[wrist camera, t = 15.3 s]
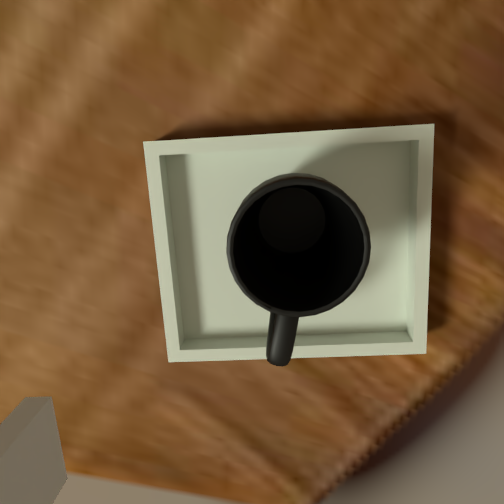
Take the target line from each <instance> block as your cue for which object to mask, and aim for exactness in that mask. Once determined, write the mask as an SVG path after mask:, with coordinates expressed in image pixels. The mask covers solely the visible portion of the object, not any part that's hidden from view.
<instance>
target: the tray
mask: <svg viewBox="0 0 504 504" xmlns="http://www.w3.org/2000/svg"><path fill="white" fill-rule="evenodd" d="M143 145H144V153H145V162H146V171H147V179H148V188H149V197H150V205H151V214H152V223H153V231H154V240H155V249H156V257H157V266H158V275H159V284H160V292H161V301H162V310H163V318H164V327H165V336H166V344H167V353H168V362H190V361H220V360H250V359H267V358H266V346H267V336H268V327H269V319H270V312H269V311H267V310H265V309H264V308H262V307H260V306H258V305H256V304H255V303H254V302H253V301H252V300H250V299H249V298H248V297H247V296H246V295H245V294H244V293H243V292H242V290H241V289H240V288H239V286H238V285H237V284H236V282H235V280H234V278H233V276H232V273H231V271H230V269H229V265H228V259H227V254H226V247H227V235H228V232H229V228H230V225H231V221H232V219H233V217H234V215H235V213H236V212H237V210H238V208H239V206H240V204H241V203H242V201H243V200H244V198H245V197H246V196H247V195H248V194H249V193H250V192H251V191H252V190H253V189H254V188H255V187H257V186H258V185H260V184H261V183H262V182H264V181H266V180H268V179H270V178H273V177H275V176H278V175H283V174H289V173H306V174H312V175H315V176H318V177H321V178H324V179H326V180H328V181H329V182H331V183H333V184H334V185H336V186H338V187H339V188H340V189H342V190H343V191H344V192H345V193H346V194H347V195H348V196H349V197H350V198H351V199H352V200H353V201H354V202H356V204H357V206H358V207H359V209H360V210H361V212H362V213H363V215H364V217H365V219H366V222H367V225H368V228H369V231H370V239H371V253H370V260H369V265H368V267H367V270H366V272H365V275H364V278H363V279H362V281H361V282H360V284H359V285H358V287H357V288H356V290H355V291H354V292H353V293H352V294H351V295H350V296H349V297H348V298H347V299H346V300H345V301H344V302H342V303H341V304H339V305H337V306H336V307H334V308H333V309H331V310H329V311H326V312H323V313H320V314H318V315H314V316H306V317H299V321H298V327H297V332H296V338H295V343H294V348H293V352H292V356H291V358H310V357H340V356H370V355H400V354H426V343H427V315H428V288H429V260H430V232H431V205H432V177H433V149H434V124H421V125H405V126H389V127H373V128H357V129H341V130H324V131H308V132H292V133H276V134H260V135H244V136H228V137H212V138H196V139H180V140H164V141H148V142H143Z"/></svg>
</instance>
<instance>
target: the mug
mask: <svg viewBox="0 0 504 504" xmlns="http://www.w3.org/2000/svg"><path fill="white" fill-rule="evenodd" d="M370 253H371V239H370V231H369V228H368V225H367V222H366V219H365V217H364V215H363V213H362V212H361V210H360V209H359V207H358V206H357V204H356V202H354V201H353V200H352V199H351V198H350V197H349V196H348V195H347V194H346V193H345V192H344V191H343V190H342V189H340V188H339V187H338V186H336V185H334V184H333V183H331V182H329V181H328V180H326V179H324V178H321V177H318V176H315V175H312V174H306V173H289V174H283V175H278V176H275V177H273V178H270V179H268V180H266V181H264V182H262V183H261V184H260V185H258V186H257V187H255V188H254V189H253V190H252V191H251V192H250V193H249V194H248V195H247V196H246V197H245V198H244V200H243V201H242V203H241V204H240V206H239V208H238V210H237V212H236V213H235V215H234V217H233V219H232V221H231V225H230V228H229V232H228V235H227V247H226V254H227V259H228V265H229V269H230V271H231V273H232V276H233V278H234V280H235V282H236V284H237V285H238V286H239V288H240V289H241V290H242V292H243V293H244V294H245V295H246V296H247V297H248V298H249V299H250V300H252V301H253V302H254V303H255V304H256V305H258V306H260V307H262V308H264V309H265V310H267V311H269V312H270V319H269V327H268V336H267V346H266V358H267V361H268V362H270V363H271V364H273V365H276V366H285V365H288V363H289V361H290V359H291V356H292V352H293V348H294V343H295V338H296V332H297V327H298V321H299V317H306V316H314V315H318V314H320V313H323V312H326V311H329V310H331V309H333V308H334V307H336V306H337V305H339V304H341V303H342V302H344V301H345V300H346V299H347V298H348V297H349V296H350V295H351V294H352V293H353V292H354V291H355V290H356V288H357V287H358V285H359V284H360V282H361V281H362V279H363V278H364V275H365V272H366V270H367V267H368V265H369V260H370Z"/></svg>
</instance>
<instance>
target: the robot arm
mask: <svg viewBox="0 0 504 504" xmlns="http://www.w3.org/2000/svg"><path fill="white" fill-rule="evenodd" d="M66 480H67V474H66V468H65V463H64V458H63V453H62V448H61V443H60V438H59V432H58V427H57V422H56V417H55V412H54V407H53V402H52V397H25V398H24V399H23V401H22V402H21V403H20V404H19V405H18V406H17V407H16V408H15V409H14V410H13V411H12V412H11V413H10V415H9V416H8V417H7V418H6V419H5V420H4V421H3V422H2V423H1V424H0V504H53V502H54V500H55V499H56V497H57V495H58V494H59V492H60V490H61V489H62V487H63V485H64V483H65V482H66Z"/></svg>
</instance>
